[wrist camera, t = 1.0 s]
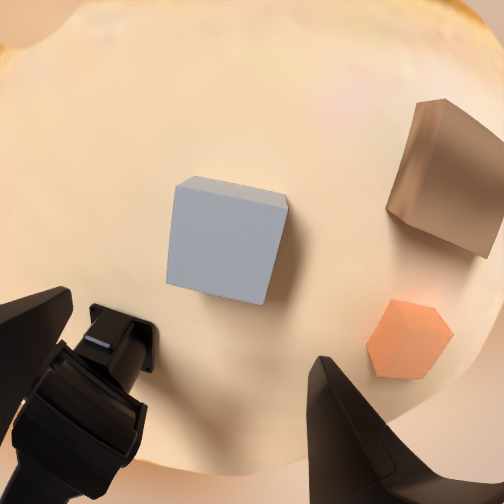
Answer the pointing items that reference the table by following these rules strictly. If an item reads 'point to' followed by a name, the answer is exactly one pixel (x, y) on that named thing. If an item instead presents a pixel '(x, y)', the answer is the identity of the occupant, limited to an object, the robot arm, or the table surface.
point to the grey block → (224, 238)
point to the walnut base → (451, 178)
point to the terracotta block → (407, 340)
